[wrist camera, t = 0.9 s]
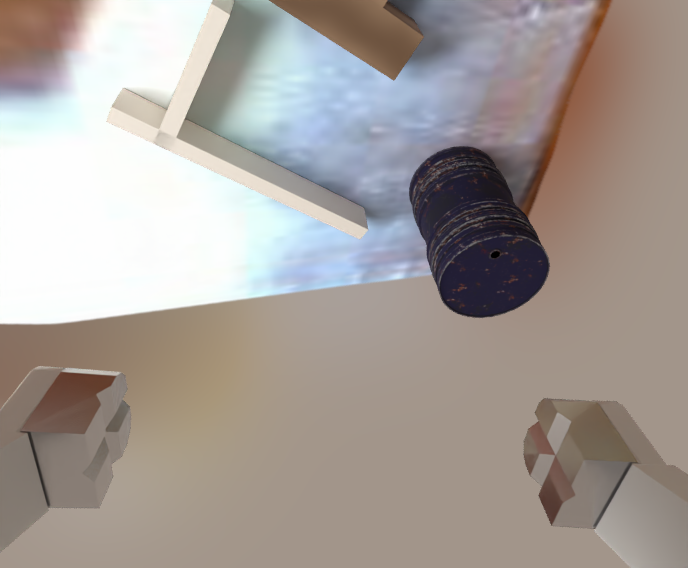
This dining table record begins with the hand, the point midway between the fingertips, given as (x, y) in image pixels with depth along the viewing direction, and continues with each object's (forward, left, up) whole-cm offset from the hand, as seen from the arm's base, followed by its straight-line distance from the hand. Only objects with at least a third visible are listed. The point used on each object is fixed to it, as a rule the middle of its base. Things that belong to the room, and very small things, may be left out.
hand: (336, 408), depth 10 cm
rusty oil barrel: (+10, +24, -41) cm, 48 cm away
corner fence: (+12, +4, -41) cm, 42 cm away
